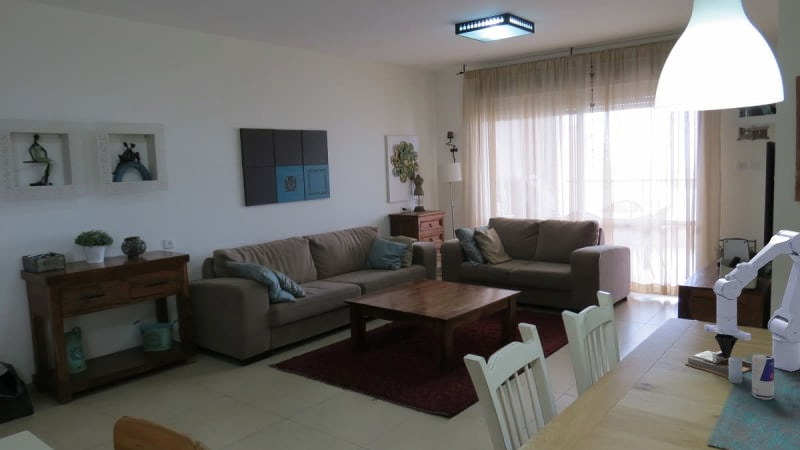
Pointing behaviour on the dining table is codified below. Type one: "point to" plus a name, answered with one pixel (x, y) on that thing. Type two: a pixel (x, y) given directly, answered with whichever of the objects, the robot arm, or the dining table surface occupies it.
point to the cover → (711, 356)
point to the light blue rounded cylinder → (735, 370)
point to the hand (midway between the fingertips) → (726, 356)
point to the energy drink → (763, 376)
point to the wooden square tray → (716, 366)
